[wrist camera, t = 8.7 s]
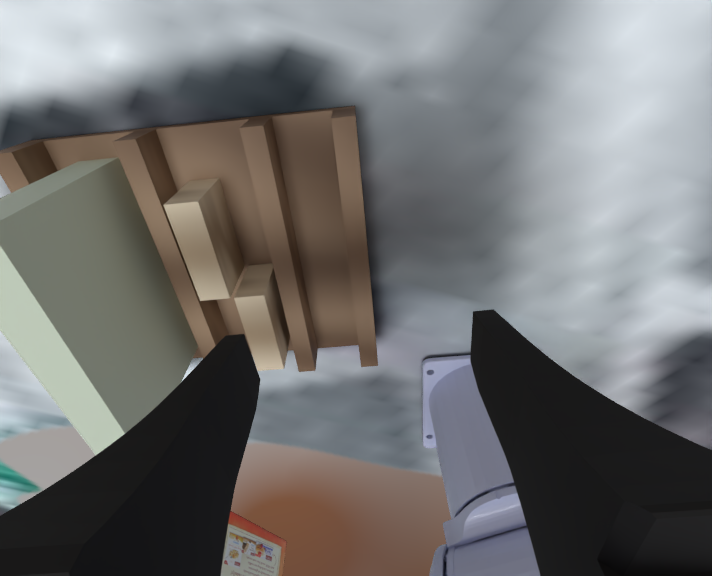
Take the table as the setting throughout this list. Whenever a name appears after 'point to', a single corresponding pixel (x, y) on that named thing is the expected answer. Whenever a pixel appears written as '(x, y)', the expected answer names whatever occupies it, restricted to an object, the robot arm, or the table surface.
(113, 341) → the pale green slab
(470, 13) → the table surface
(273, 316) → the offcut
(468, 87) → the table surface
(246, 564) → the cracker box
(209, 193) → the offcut
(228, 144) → the rack
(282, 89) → the table surface
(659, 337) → the table surface
